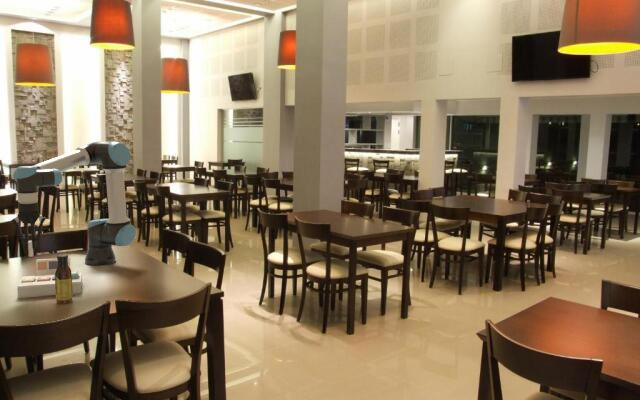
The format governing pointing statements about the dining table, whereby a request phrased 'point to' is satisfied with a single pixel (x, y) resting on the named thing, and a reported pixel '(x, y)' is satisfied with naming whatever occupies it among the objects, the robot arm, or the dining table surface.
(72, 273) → the key
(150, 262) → the dining table surface
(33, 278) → the key
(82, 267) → the dining table surface
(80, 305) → the dining table surface
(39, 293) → the keypad
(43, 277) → the key
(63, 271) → the sauce bottle
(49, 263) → the placard
